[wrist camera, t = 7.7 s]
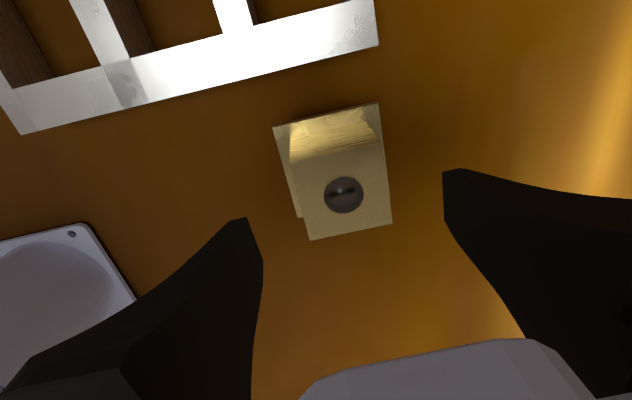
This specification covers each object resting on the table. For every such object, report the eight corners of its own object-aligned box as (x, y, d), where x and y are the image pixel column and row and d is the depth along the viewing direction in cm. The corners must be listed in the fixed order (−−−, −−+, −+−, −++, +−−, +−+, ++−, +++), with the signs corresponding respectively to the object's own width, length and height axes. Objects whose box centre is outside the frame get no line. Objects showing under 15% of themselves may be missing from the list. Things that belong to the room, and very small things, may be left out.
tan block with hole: (297, 189, 20) (297, 257, 14) (276, 111, 18) (265, 151, 12) (375, 172, 20) (410, 234, 14) (363, 91, 18) (399, 121, 12)
